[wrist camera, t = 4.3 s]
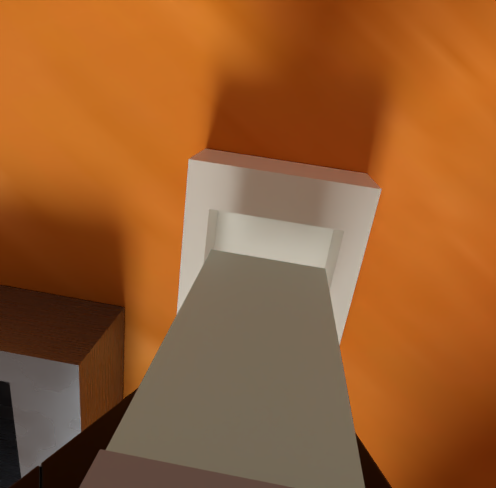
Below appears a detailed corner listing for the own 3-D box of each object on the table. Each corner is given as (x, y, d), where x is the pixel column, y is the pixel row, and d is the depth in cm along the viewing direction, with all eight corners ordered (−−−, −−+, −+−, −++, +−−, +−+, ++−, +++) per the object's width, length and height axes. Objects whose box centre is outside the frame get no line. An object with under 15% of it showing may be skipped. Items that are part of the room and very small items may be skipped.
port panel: (124, 307, 17) (69, 377, 13) (120, 555, 24) (83, 654, 20) (-85, 269, 18) (-204, 325, 14) (-32, 522, 25) (-101, 612, 20)
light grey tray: (367, 173, 14) (381, 189, 12) (317, 370, 17) (321, 412, 15) (205, 148, 14) (188, 159, 12) (187, 346, 18) (171, 384, 15)
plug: (327, 267, 11) (405, 669, 3) (295, 403, 12) (297, 860, 5) (209, 247, 11) (26, 586, 3) (195, 384, 13) (55, 799, 5)
